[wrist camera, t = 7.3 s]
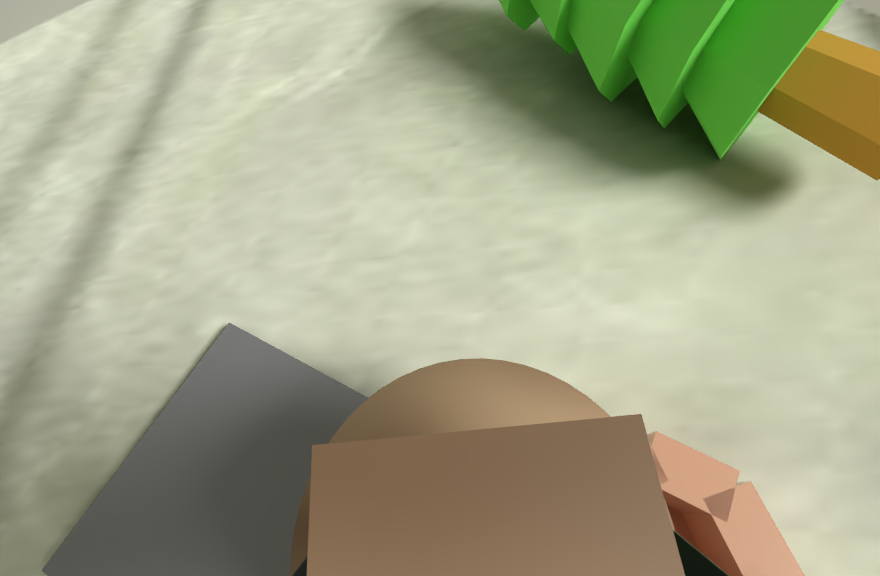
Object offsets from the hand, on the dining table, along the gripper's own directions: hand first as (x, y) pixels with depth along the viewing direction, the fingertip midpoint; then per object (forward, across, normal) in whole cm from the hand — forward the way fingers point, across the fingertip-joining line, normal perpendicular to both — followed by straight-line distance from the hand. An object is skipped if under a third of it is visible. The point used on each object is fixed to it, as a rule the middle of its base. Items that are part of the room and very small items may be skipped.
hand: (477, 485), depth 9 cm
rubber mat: (+10, +10, +9) cm, 17 cm away
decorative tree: (+27, -14, -9) cm, 31 cm away
